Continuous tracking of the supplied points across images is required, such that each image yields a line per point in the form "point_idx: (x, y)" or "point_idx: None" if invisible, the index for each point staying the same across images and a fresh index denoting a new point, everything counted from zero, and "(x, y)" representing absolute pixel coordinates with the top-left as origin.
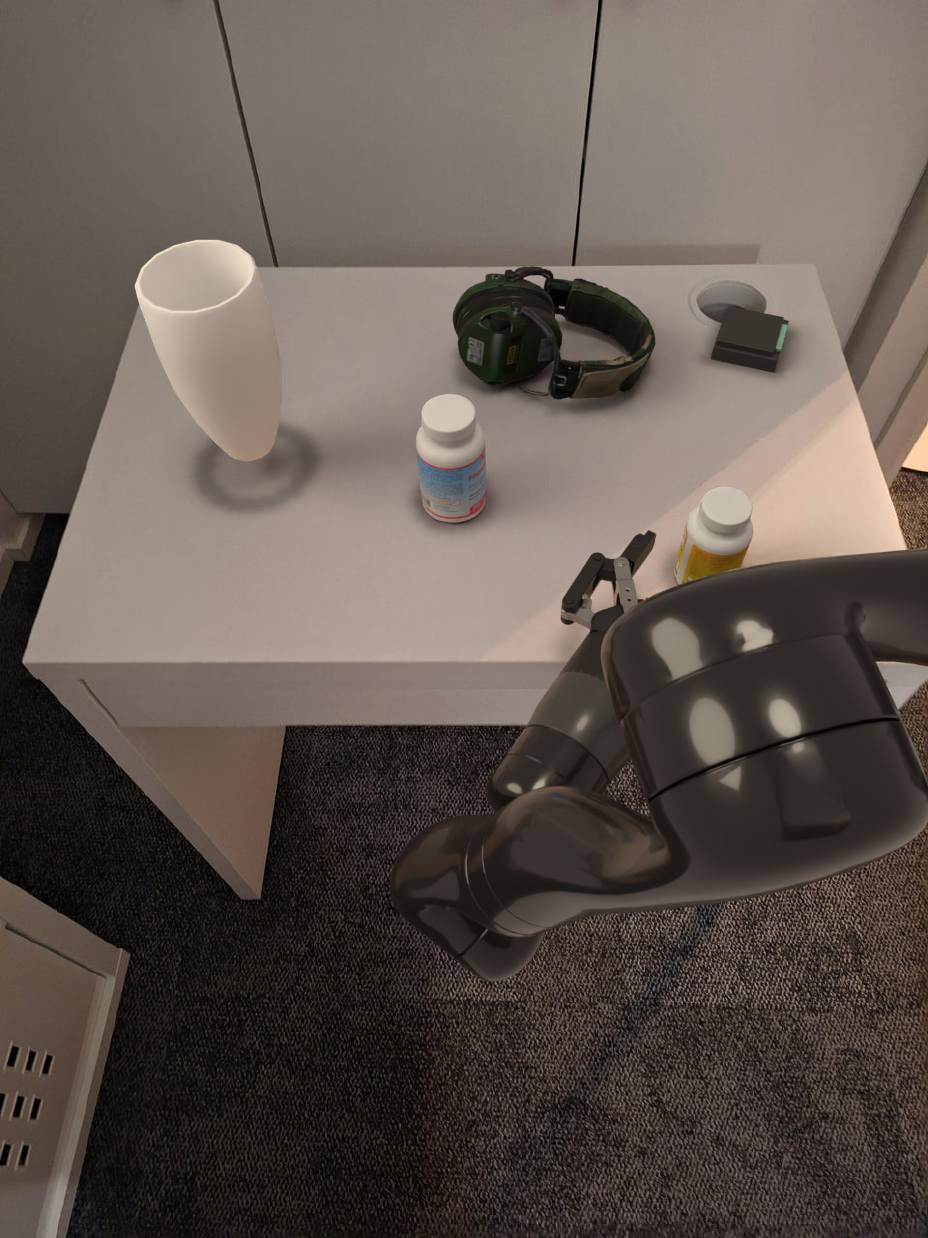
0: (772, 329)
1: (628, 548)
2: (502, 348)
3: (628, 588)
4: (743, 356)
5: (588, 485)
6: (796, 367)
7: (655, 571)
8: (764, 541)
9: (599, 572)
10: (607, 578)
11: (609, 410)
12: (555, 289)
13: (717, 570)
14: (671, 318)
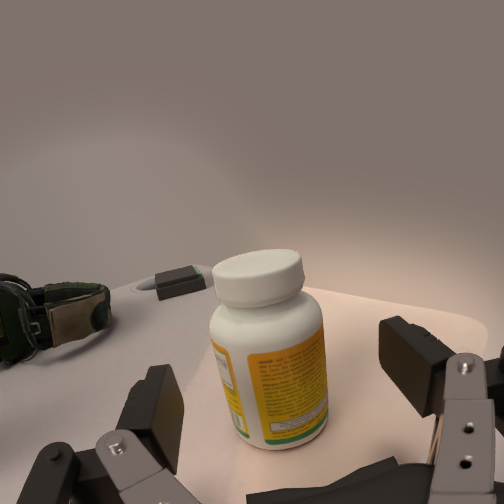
0: (189, 269)
1: (126, 413)
2: None
3: (164, 502)
4: (179, 286)
5: (87, 405)
6: None
7: (217, 454)
8: None
9: (82, 491)
10: (115, 499)
11: (93, 349)
12: (34, 295)
13: (310, 378)
14: (123, 298)
